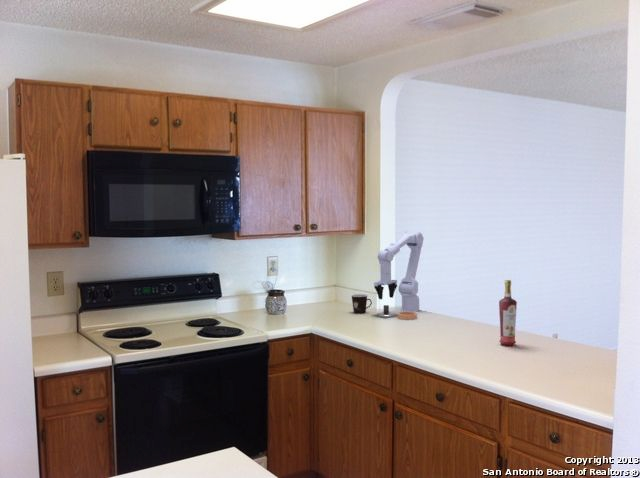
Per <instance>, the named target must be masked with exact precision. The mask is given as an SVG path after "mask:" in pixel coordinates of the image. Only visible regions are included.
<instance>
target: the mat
mask: <svg viewBox="0 0 640 478" xmlns="http://www.w3.org/2000/svg"><path fill="white" fill-rule="evenodd" d="M377 314H378V313H376V314H371V315H370V316H371V317H376V318H380V319H385V320H386V319H391V318H397V313H395V316H394V317H379V316H377Z"/></svg>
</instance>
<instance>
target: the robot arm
mask: <svg viewBox="0 0 640 478" xmlns="http://www.w3.org/2000/svg"><path fill="white" fill-rule="evenodd" d="M423 243H424V236H423V233H421V232H414V231H413V232H411V231H410V232H409V231H406V232H404V233H403V234H402V237H401V238H400V239H399V240H397V241H396V242H392V243H390V245H388V247H385V249H384V250H380V251H378V254H377V260H378V263H379V267H380V268H379V271H380V273H379V276H380V277H379V278H380V279H379V280H378V281H375V282H374V283H373V288H374V289H375V291H376V294H377V297H378V299H379V300H383V298H384V297H383V296H384V295H383V293H384V290H385V289H384V288H385V287H384V286H387V288H388V295H389V298H394V295H395V292H396V289H397V288H398V292H399V294H400V296H401V309H399V311H400V312H420V311H421V309H420V298H419V296H418V295H417V294H418V292H419V282H418V281H417V280H416V276H417V271H418V266H419V262H420V256H421V251H422V247H423ZM404 246H407V247H408V248H409V249H410V253H409V258H408V262H407V268H406V273H405V277H404V278H402V279H401V280H400V283H399V285H398V280H397V279H392V261H393V260H394V257H395V256H396V255H397V254H398V253H400V250H401V249H402V248H403V247H404Z"/></svg>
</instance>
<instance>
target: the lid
mask: <svg viewBox="0 0 640 478" xmlns="http://www.w3.org/2000/svg"><path fill="white" fill-rule="evenodd" d="M389 308H390V305H386V304H384V305H383V312H378V313H376V314H377V316H379V317H393V318H395V317H394V316H395V314H396V313H395V312H390V309H389ZM379 317H378V318H379Z"/></svg>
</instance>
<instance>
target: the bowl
mask: <svg viewBox="0 0 640 478" xmlns="http://www.w3.org/2000/svg"><path fill="white" fill-rule="evenodd" d="M396 314H397V317H396V318H397V319H398V320H401V321H413V320H417V319H418V313H417V311H412V312H405V311H400V312H399V311H398V312H397V313H396Z"/></svg>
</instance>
